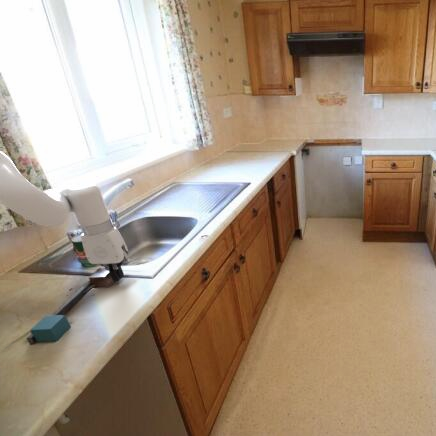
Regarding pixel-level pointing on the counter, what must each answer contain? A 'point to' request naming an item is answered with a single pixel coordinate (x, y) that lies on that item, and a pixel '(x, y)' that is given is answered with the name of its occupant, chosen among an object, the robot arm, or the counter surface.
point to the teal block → (50, 328)
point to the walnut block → (101, 278)
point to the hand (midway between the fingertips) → (118, 278)
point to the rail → (67, 306)
